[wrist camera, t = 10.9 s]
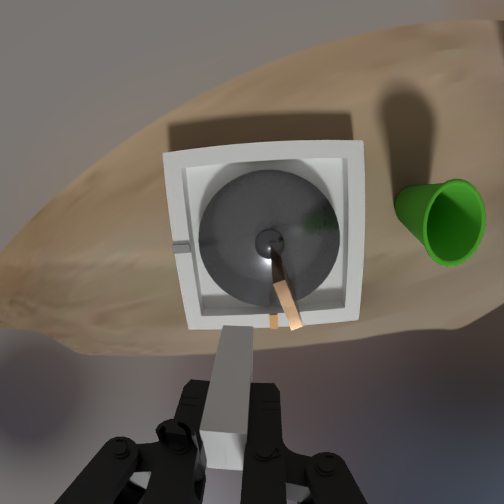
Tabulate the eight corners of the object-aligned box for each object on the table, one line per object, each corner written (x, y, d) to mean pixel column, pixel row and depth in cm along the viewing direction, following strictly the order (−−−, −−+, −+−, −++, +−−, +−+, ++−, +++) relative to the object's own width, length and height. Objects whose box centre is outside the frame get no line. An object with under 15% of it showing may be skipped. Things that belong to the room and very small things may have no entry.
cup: (368, 215, 34) (407, 238, 24) (403, 157, 32) (452, 160, 21) (413, 250, 35) (457, 281, 25) (446, 197, 33) (496, 213, 22)
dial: (180, 201, 33) (155, 214, 25) (310, 149, 30) (325, 146, 23) (233, 315, 37) (226, 354, 29) (351, 274, 35) (372, 304, 27)
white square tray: (353, 142, 31) (364, 140, 28) (351, 307, 38) (359, 321, 34) (171, 153, 33) (161, 153, 29) (194, 316, 39) (188, 331, 36)
